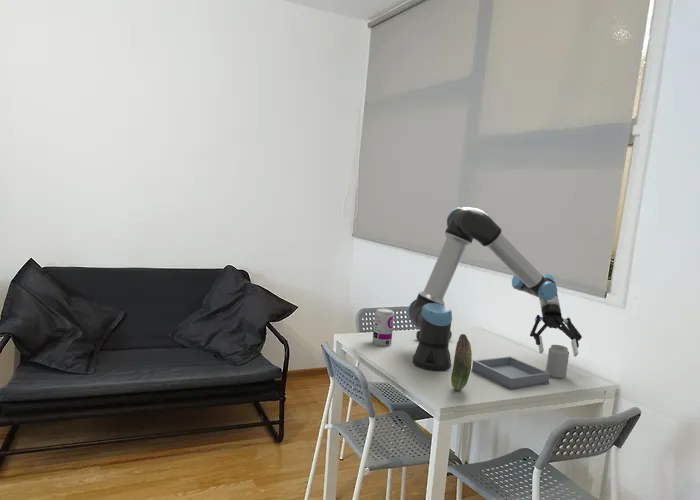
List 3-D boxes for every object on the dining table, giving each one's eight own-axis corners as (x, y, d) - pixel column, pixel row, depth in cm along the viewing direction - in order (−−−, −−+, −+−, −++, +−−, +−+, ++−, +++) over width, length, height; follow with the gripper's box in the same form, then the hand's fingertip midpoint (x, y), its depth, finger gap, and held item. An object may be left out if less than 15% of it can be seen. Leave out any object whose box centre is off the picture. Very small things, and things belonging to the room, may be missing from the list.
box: (510, 389, 185) (511, 378, 184) (471, 370, 202) (472, 360, 202) (548, 383, 195) (550, 373, 194) (509, 365, 212) (510, 356, 212)
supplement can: (394, 343, 229) (397, 310, 227) (385, 347, 222) (388, 313, 221) (378, 339, 233) (381, 307, 232) (369, 343, 226) (372, 309, 225)
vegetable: (457, 385, 184) (464, 331, 182) (472, 391, 180) (478, 335, 177) (447, 388, 180) (453, 332, 178) (461, 395, 176) (468, 337, 173)
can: (563, 381, 199) (568, 350, 197) (543, 376, 203) (547, 346, 201) (567, 376, 205) (571, 346, 204) (547, 371, 209) (551, 342, 208)
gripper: (576, 314, 221) (587, 360, 208) (518, 309, 222) (524, 355, 209) (583, 305, 215) (594, 351, 202) (523, 300, 216) (530, 346, 203)
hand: (559, 353), depth 206 cm, fingers open, 13 cm apart
